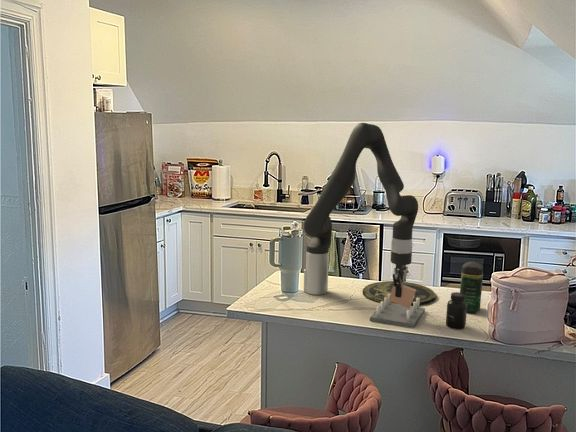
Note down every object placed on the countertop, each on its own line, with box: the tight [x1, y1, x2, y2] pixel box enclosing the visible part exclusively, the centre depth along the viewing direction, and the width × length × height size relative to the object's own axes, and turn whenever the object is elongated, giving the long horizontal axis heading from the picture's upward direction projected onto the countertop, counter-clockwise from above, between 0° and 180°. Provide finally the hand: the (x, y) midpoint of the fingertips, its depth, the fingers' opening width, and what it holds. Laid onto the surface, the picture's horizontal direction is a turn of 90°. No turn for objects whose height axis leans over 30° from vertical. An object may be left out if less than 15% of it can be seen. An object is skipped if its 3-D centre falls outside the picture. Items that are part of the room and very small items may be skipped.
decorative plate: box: [362, 280, 437, 307], centre depth 248 cm, size 30×2×30 cm
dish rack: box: [369, 294, 426, 329], centre depth 222 cm, size 16×19×6 cm
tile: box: [389, 283, 416, 308], centre depth 220 cm, size 8×2×7 cm, turn 67°
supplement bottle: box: [445, 291, 467, 330], centre depth 212 cm, size 7×7×12 cm
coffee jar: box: [459, 261, 484, 314], centre depth 229 cm, size 10×8×19 cm
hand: (399, 295), depth 221 cm, fingers closed on tile, 2 cm apart
